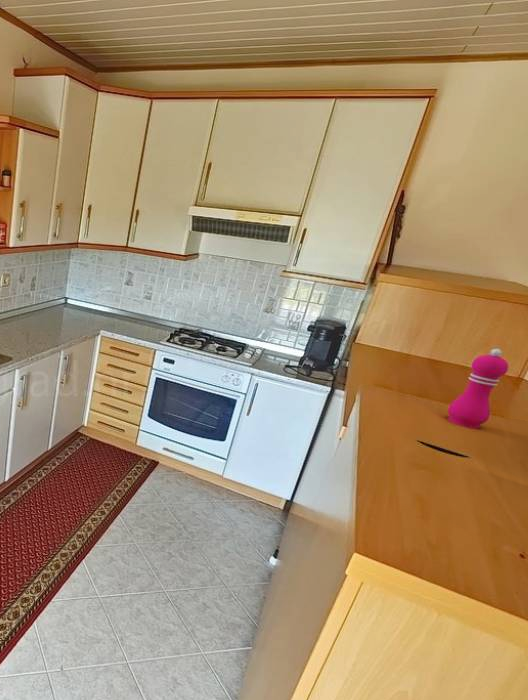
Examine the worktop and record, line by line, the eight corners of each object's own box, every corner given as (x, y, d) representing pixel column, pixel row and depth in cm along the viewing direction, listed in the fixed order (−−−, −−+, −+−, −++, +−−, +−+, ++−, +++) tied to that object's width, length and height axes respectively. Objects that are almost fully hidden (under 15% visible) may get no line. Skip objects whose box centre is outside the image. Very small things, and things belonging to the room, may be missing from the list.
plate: (481, 449, 105) (484, 442, 104) (474, 462, 98) (477, 455, 97) (418, 429, 112) (421, 423, 112) (408, 440, 105) (411, 433, 104)
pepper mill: (474, 439, 110) (514, 354, 103) (435, 425, 116) (471, 345, 109) (484, 434, 114) (524, 352, 107) (447, 421, 120) (482, 343, 113)
